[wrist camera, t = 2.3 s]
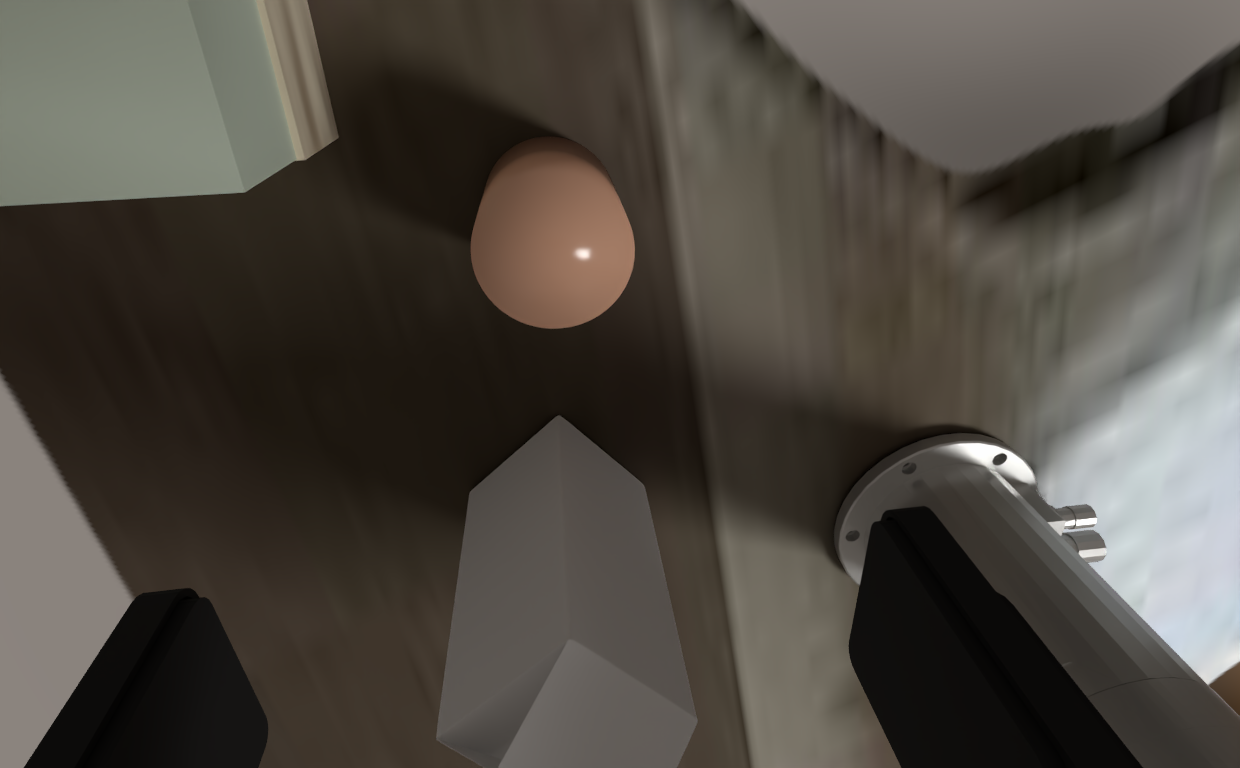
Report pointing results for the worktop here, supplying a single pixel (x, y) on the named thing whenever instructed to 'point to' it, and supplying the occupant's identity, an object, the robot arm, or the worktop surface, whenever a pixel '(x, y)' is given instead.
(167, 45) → the sage block
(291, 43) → the birch block
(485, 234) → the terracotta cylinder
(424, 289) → the worktop surface
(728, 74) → the worktop surface
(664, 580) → the milk carton
